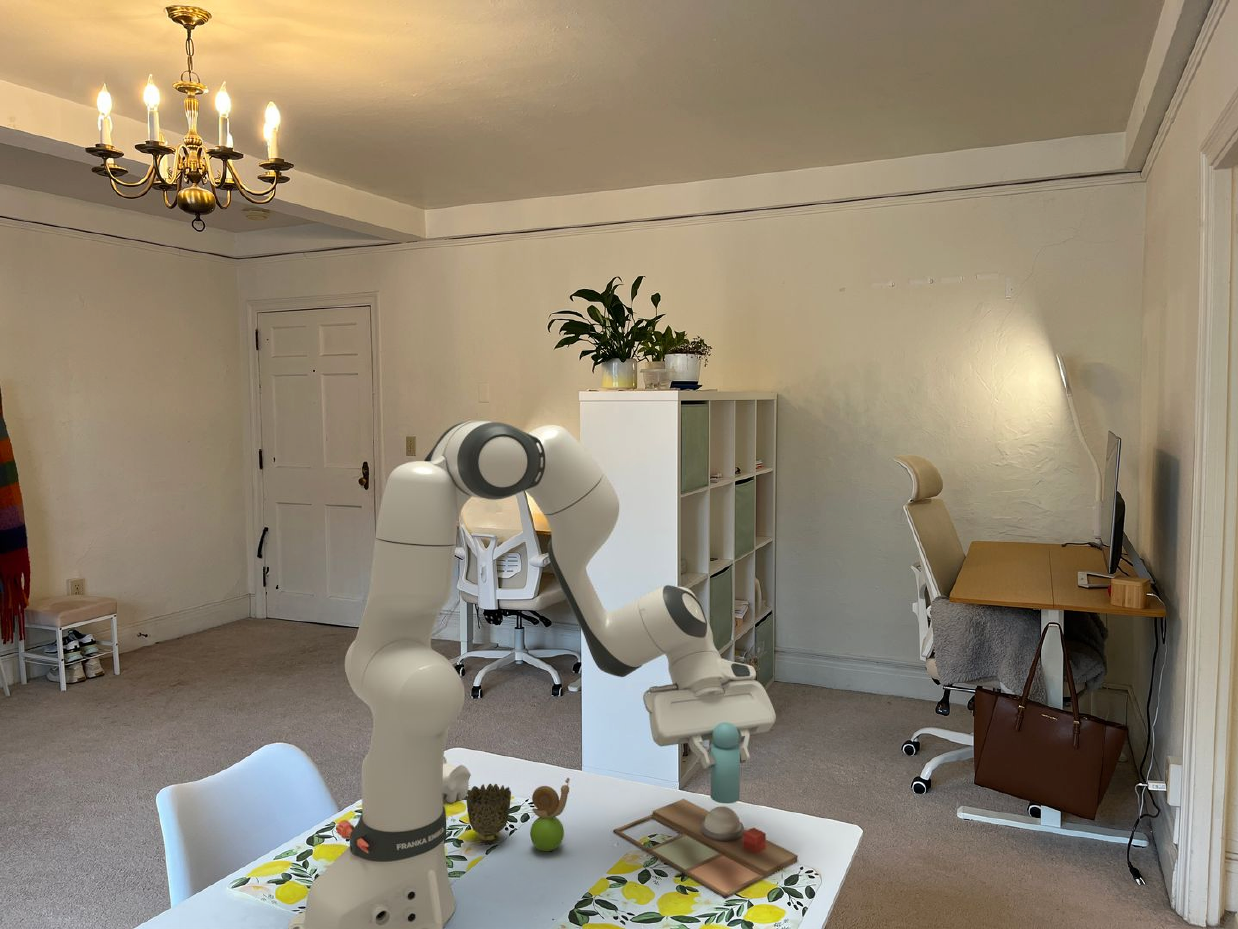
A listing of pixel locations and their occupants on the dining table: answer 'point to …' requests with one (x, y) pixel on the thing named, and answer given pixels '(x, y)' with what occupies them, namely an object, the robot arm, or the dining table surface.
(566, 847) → the dining table surface
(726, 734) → the pawn
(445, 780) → the elephant figurine
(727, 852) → the game board
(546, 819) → the snail figurine
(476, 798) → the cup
